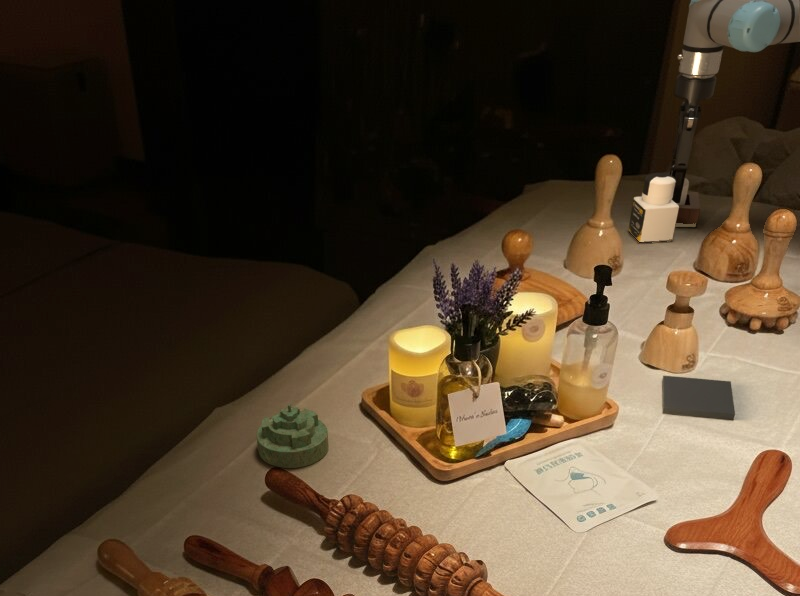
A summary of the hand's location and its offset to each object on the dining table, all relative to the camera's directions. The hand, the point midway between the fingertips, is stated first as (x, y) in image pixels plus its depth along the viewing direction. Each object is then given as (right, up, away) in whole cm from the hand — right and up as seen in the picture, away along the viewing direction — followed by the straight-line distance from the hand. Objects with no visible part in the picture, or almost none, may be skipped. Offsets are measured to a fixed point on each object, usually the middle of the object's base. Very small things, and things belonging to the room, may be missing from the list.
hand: (672, 197), depth 187 cm
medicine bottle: (-7, -11, -5) cm, 13 cm away
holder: (0, -3, +3) cm, 4 cm away
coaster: (-16, -56, -55) cm, 80 cm away
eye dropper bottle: (0, -3, +3) cm, 4 cm away
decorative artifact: (-76, -64, -62) cm, 118 cm away
